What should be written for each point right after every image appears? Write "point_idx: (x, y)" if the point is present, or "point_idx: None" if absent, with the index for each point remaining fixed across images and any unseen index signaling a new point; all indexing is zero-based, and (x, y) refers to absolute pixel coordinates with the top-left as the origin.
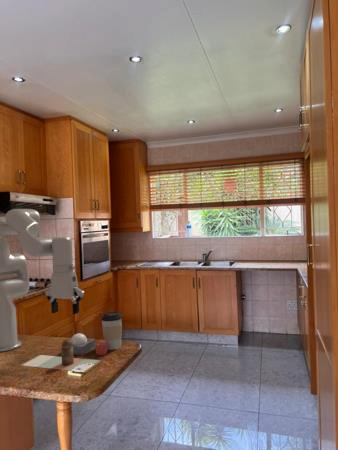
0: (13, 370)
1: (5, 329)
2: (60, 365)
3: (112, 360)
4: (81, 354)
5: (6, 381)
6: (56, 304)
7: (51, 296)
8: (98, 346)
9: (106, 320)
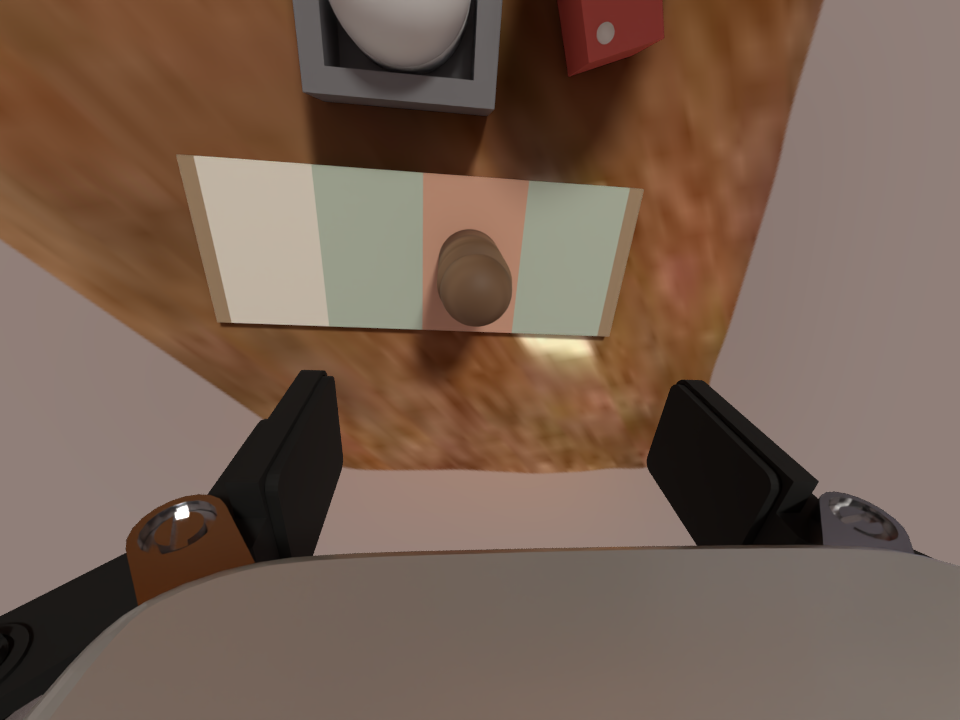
0: (234, 360)
1: None
2: None
3: (697, 153)
4: (479, 113)
5: None
6: (299, 485)
7: (36, 695)
8: (608, 58)
9: None
